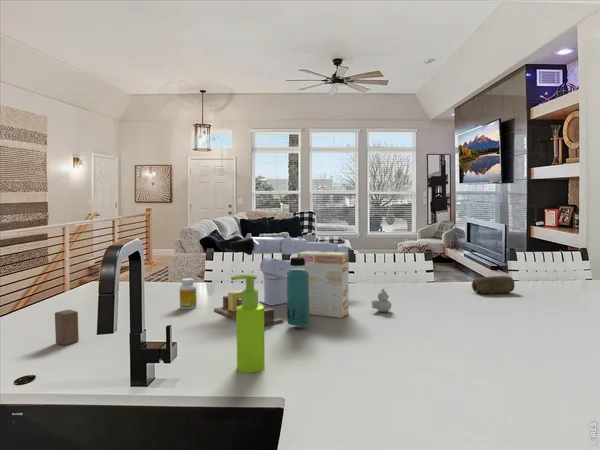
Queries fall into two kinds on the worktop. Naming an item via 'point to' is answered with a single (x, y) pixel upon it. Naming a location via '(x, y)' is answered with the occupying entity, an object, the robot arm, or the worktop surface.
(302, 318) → the beverage bottle
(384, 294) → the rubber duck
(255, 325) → the soap dispenser
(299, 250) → the robot arm
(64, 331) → the wooden block
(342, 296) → the coffeecake box
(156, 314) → the worktop surface
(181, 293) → the supplement bottle
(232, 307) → the yellow notched block
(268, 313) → the rail
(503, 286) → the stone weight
